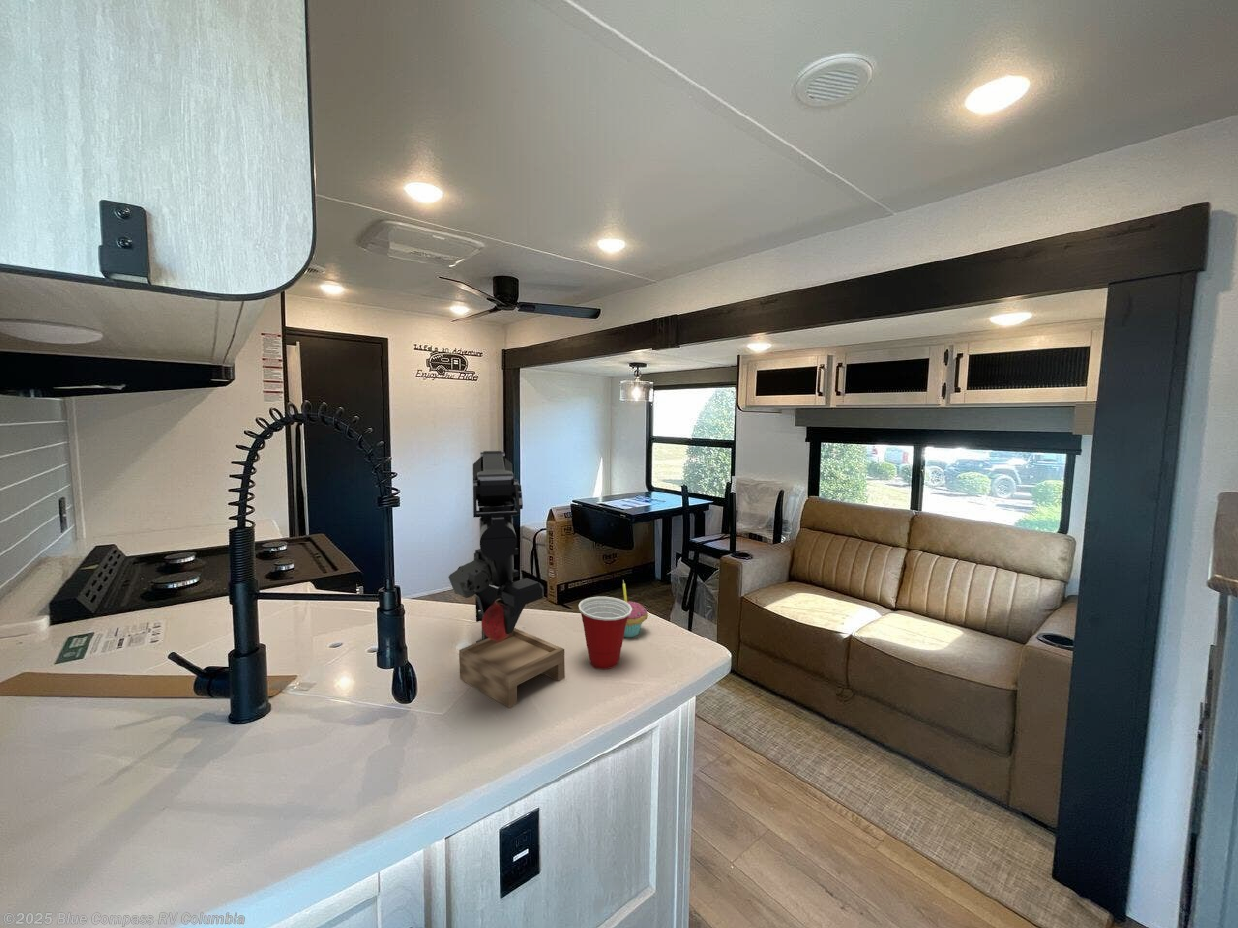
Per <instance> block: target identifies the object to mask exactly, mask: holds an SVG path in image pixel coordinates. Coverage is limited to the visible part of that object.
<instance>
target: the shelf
mask: <svg viewBox="0 0 1238 928" xmlns="http://www.w3.org/2000/svg"><path fill="white" fill-rule="evenodd" d="M458 655H459V656H458V657H459V659H458V661H459V679H460V680H461V681H463V682H465V683H466V684H468V685H469V686H472V687H473V688H475V689H477V690H478V691H480V692H482V693H483V694H484V695H486V696H488V697H490V698H492V699H494V700H495V701H497V702H499V703H500V704H502V705H503V706H505V707H507V708H508V709H511V708H513V707H515V706H516V705H517V704H518V691H517V690H518V688H517V687H518V686H519V685H521V684H523V683H525V682H526V681H528V680H531V679H532V678H534V677H537V676H538V675H540V674H543V675H545V676H547V677H549V678H551V679H553V680H555V681H558V682H559V681H561V680H563V679H565V677H566V675H565V674H566V673H565V671H566V670H565V669H566V668H565V667H566V666H565V660H566V659H565V648H564V647H561V646H558V645H556V644H554V643H551V642H549V641H547V640H545V639H542V638H540V637H536V636H534V635H533V634H531V633H528V632H525V631H523V630H520V629H518V628H516V627H514V629H513V632H512V633H510V634H509V635H508V636H507V637H506V638H504V639H503V640H502V641H501V642H496V641H494V640H492V639H490V638H488V639H485V640H483V641H480V642H478V643H476V642H475V643H473V644H470V645H468V646H465V647H463V648H461V649H458Z"/></svg>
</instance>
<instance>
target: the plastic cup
mask: <svg viewBox="0 0 1238 928" xmlns="http://www.w3.org/2000/svg"><path fill="white" fill-rule="evenodd" d="M578 610H579V612H580V614H581V615H580V616H581V618H582V624H583V630H584V637H585V643H586V647H587V652H588V657H589V658H588V659H589V662H590V665H592V667H593V668H596V669H602V670H606V669H612V668H615V667H616V666H617V665H618V663H619V660H620V657H621V650H622V646H623V642H624V638H625V637H624V631H625V626H626V622H627V619H628V616H629V615H630V613H631V611H632V608H631V606H630V604H628V603H627V602H625V601H624V599H623V600H622V599H620V598H617V597H611V596H610V597H609V596H593V597H587V598H585V599H582V600H581V601H580V602H579V604H578Z"/></svg>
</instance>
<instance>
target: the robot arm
mask: <svg viewBox="0 0 1238 928" xmlns="http://www.w3.org/2000/svg"><path fill="white" fill-rule="evenodd" d="M479 453H480V456H479V458H478V459H477V460H475V462H474V463H472V510H473V511H472V513H473V518H479V548H478V549H474V553H473V560H471V561H470V562H467V563H466V564H464V565H460V566H459V567H458V568H457V569H456V570H455V571H454V572H452V573H450V574H449V575H448V580H449V582H450V585H451V587H452V590H453V592H454V594H455V595H460V596H462V597H463V598H465V599H468V598H472V597H473V596H474V597H475V598H474V599H475V602H474V603H475V604H474V605H475V622H476V623H478V622H481V624H482V618H483V615H484V613H485V611H486V610H487V609H488V608H489V607H490V606H492V605H493V604H494V603H495V601H496V600H497V599H501V600H498V601H496V603H498V604H499V605H500V606H501V607H502V608H503V616H504V625H505V631H506V634H510V633H512V632H513V629H514V628H516V625H517V623H518V621H519V619H520V616H521V614H522V612H523V611H524V609H525V607H526V605H528V604H531V603H534V602H537V601H539V600H542V599H544V585H542V583H540V582H538V581H536V580H534V579H530V578H527V577H525V578H522V579H519V580H516V581H513V580H514V578H517V577H518V578H519V574H520V571H519V570H517V569H514V568H515V567H514V566H515V564H514V556H515V555H519V548H517V546H518V537H517V534H516V532H515V528H514V525H513V524H514V518H513V516H520V515H521V510H523V507H524V504H523V503H524V501H523V492H522V485H521V484H520V481H519V479H517V478H516V479H515V476H514V473H513V469H512V462H511V461H509V460H508V459H507V458H506V453H505V451H502V450H483V451H481V452H479ZM514 505H515V506H514ZM477 507H478V509H477ZM485 639H488V637H487V636H486V635H485V633H484V632H483V630H482V629H481V639H479V640H476V641H475V643H478V642H480V641H483V640H485Z"/></svg>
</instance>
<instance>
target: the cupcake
mask: <svg viewBox="0 0 1238 928" xmlns="http://www.w3.org/2000/svg"><path fill="white" fill-rule="evenodd" d="M626 587H627V586H626V583H625V581H624V579H622V593H623V601H625V602H627V603H628V604H630V606H631V608H632V611H631V613H630V615H629V616H628V619H627V622H626V626H625V631H624V637H623V638H634V637H636V636H638V635H639V632H640V629H641V627H642V624H643V623H644V622H645V621H646V620H648V618H649V617H648V614H649V613H648V611H647V608H645V607H644V605H642V604H640V603H638V602H635V601H629V600H628V597H627V589H626Z"/></svg>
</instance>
